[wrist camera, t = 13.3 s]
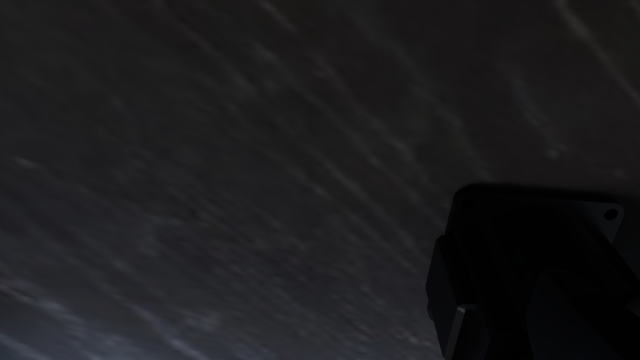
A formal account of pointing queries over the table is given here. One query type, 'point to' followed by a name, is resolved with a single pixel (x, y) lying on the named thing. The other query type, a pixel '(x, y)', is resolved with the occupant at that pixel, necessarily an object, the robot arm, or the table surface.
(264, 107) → the table surface
